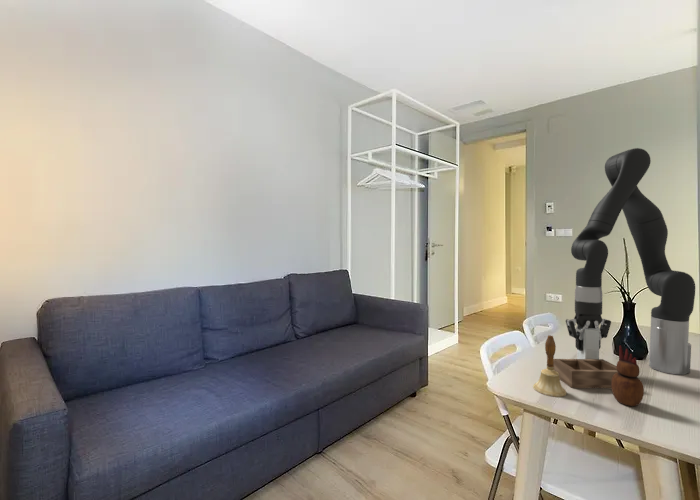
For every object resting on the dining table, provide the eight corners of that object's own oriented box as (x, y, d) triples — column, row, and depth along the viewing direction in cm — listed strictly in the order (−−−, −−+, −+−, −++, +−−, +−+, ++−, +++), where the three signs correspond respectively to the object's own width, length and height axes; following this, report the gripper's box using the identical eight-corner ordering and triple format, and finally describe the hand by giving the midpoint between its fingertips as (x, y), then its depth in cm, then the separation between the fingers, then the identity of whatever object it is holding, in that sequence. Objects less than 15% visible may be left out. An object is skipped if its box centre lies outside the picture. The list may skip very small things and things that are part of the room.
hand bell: (566, 399, 92) (568, 341, 91) (532, 392, 96) (533, 337, 95) (566, 388, 99) (567, 334, 98) (534, 381, 103) (535, 330, 103)
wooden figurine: (605, 397, 93) (607, 343, 93) (625, 396, 94) (627, 343, 93) (627, 409, 86) (629, 352, 86) (648, 408, 87) (650, 351, 86)
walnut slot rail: (602, 374, 108) (602, 359, 108) (627, 388, 99) (627, 371, 98) (552, 374, 109) (552, 358, 109) (571, 387, 99) (572, 371, 99)
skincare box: (599, 366, 110) (600, 330, 109) (585, 365, 111) (585, 329, 110) (590, 359, 116) (590, 325, 115) (576, 359, 117) (576, 324, 116)
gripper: (601, 297, 116) (601, 346, 117) (559, 297, 116) (559, 346, 117) (618, 301, 109) (618, 353, 109) (573, 301, 109) (573, 354, 109)
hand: (587, 349), depth 113 cm, fingers closed on skincare box, 4 cm apart
